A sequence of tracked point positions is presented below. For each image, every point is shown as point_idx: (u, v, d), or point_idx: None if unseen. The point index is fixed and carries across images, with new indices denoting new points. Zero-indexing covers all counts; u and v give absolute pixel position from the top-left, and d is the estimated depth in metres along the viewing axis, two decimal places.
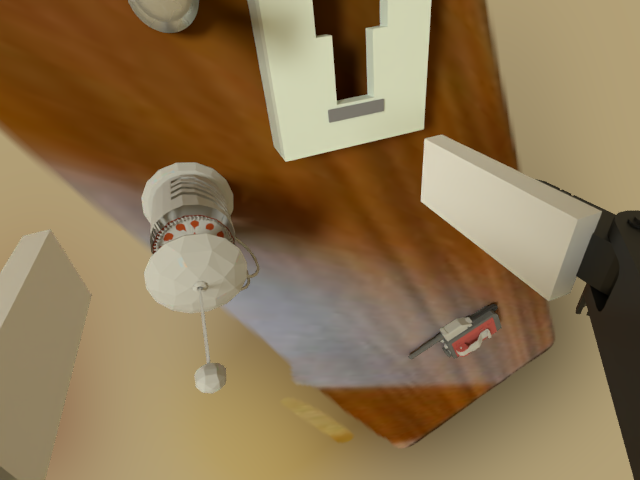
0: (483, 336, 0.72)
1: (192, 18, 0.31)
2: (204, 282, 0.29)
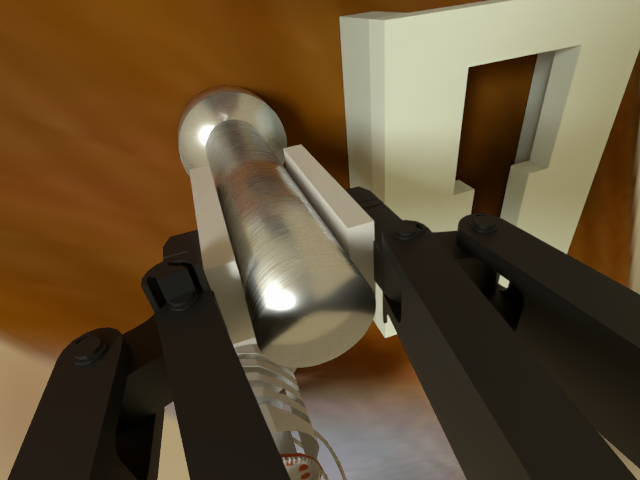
0: None
1: None
2: None
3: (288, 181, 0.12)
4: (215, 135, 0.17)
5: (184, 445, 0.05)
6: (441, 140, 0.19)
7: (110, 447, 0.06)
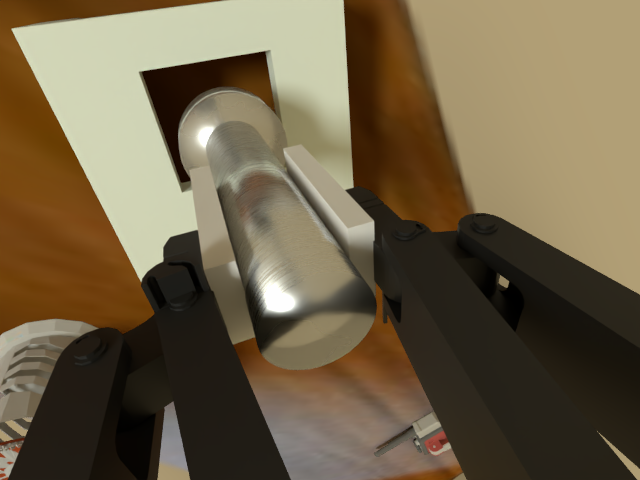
0: None
1: None
2: None
3: (288, 183, 0.12)
4: (215, 136, 0.17)
5: (184, 445, 0.05)
6: (140, 140, 0.20)
7: (110, 446, 0.06)
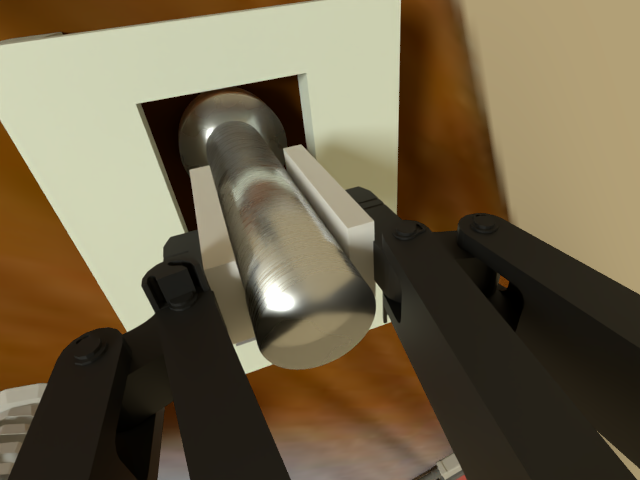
0: None
1: None
2: None
3: (288, 183, 0.12)
4: (215, 136, 0.17)
5: (184, 445, 0.05)
6: (137, 189, 0.16)
7: (111, 447, 0.06)
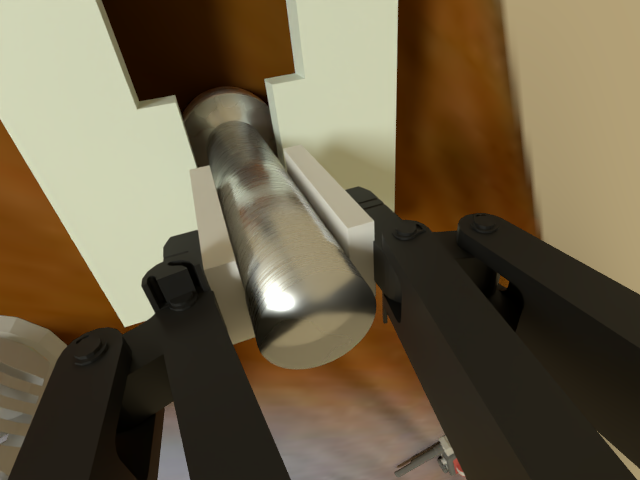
0: None
1: None
2: None
3: (288, 183, 0.12)
4: (215, 136, 0.17)
5: (184, 445, 0.05)
6: (57, 5, 0.12)
7: (110, 447, 0.06)
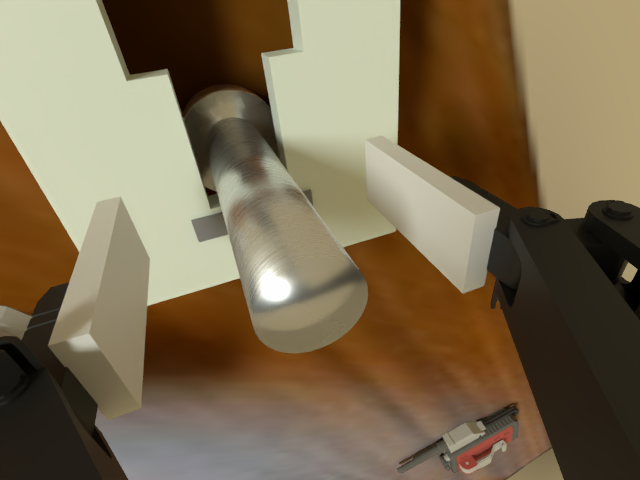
0: (496, 448, 0.54)
1: None
2: None
3: (285, 176, 0.13)
4: (214, 132, 0.18)
5: None
6: None
7: None
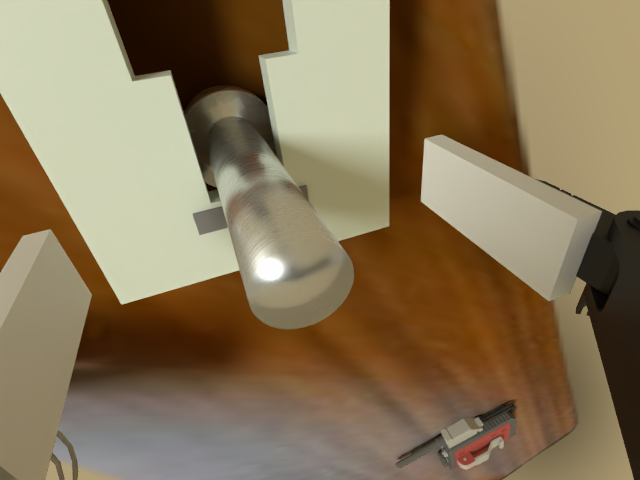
0: (493, 445, 0.55)
1: None
2: None
3: (280, 169, 0.14)
4: (215, 130, 0.18)
5: None
6: None
7: None
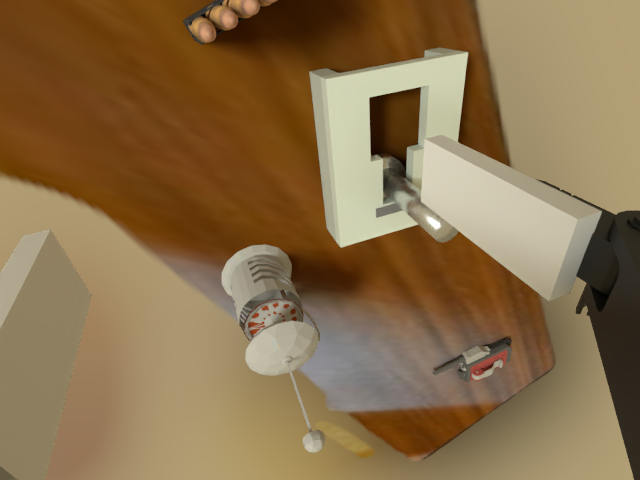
0: (495, 365, 0.82)
1: None
2: (290, 356, 0.38)
3: None
4: (384, 175, 0.45)
5: None
6: (360, 132, 0.39)
7: None
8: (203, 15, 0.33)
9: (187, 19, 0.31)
